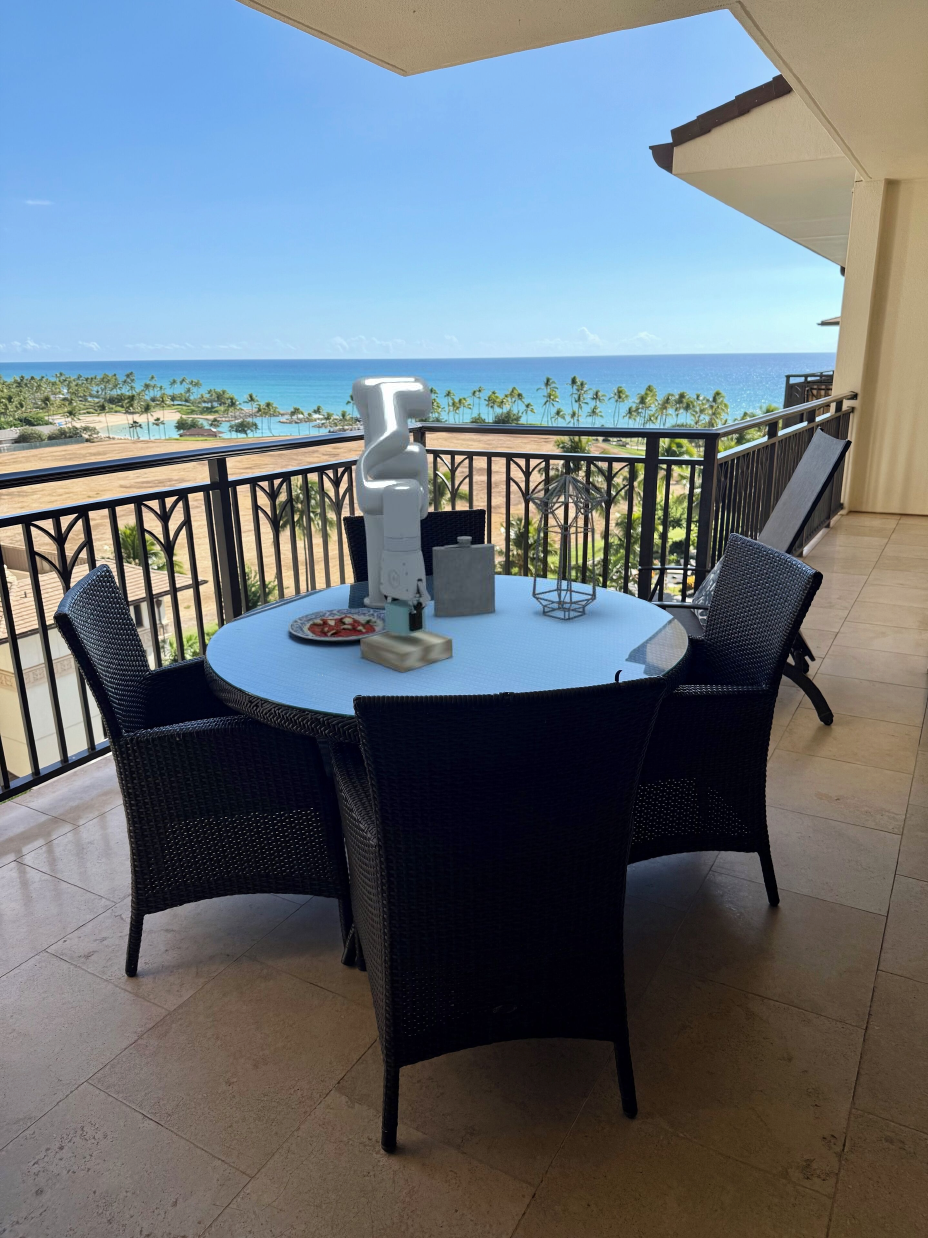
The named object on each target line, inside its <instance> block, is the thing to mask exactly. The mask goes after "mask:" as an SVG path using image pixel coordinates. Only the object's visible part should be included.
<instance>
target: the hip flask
mask: <svg viewBox="0 0 928 1238" xmlns="http://www.w3.org/2000/svg"><path fill="white" fill-rule="evenodd" d="M456 539H457V540H456V541H457V542H458V543H457V544H450V545H444V546H434V547H432V573H433V574H432V575H433V578H432V579H433V580H432V582H433V584H432V585H433V609H434V612H433V613H434V614H433V615H434V616H433V617H435V618H458V617H460V618H461V617H471V616H472V617H473V616H480V615H490V614H494V613H495V612H496V569H495V568H496V558H495V557H496V556H495V555H496V554H495V553H496V547H495V546H496V545H495V543H483V544H472V543H471V542H472V536H469V535H468V536H465V535H463V536H458V537H457V538H456Z"/></svg>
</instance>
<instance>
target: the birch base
mask: <svg viewBox="0 0 928 1238" xmlns="http://www.w3.org/2000/svg"><path fill="white" fill-rule="evenodd" d="M359 640H360V653H361V654H360V657H361V658H363V659H365V660H368V661H371V662H373V663H376V664H379V665H381V666H385V667H387V668H390V669H392V670H396V671H397V672H400V673H406V672H408V671H412V670H415V669H418V668H421V667H424V666H426V665H431V664H433V663H437V662H439V661H442V660H445V659H448V658H453V656H454V655H453V654H454V652H453V638H451V637H448V636H445V635H442V634H438V633H436V632H435V633H434V632H432V631H428V630H424V631H420V632H417V633H413V634H410V635H406V636H402V635H399V634H396V633H393V632H389V631H387V632H384V633H382V634H379V635H375V636H371V637H367V638H364V639H359Z"/></svg>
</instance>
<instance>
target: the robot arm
mask: <svg viewBox="0 0 928 1238" xmlns="http://www.w3.org/2000/svg"><path fill="white" fill-rule="evenodd" d="M351 394H352V399H353V402H354V406H355V408H356V410H357V412H358V413H357V414H358V415H359V417H360V420H361V423H362V426H363V443H364V449H363V450H362V452H361V454H360V455H359V457H358V459H357V462H356V465H355V469H354V481H355V483H354V484H355V493H356V502H357V507H358V509H359V510H360V512H361V513H363V514H362V515H363V520H364V526H365V527H364V529H365V537H366V554H367V555H366V557H367V573H368V574H367V575H368V579H367V580H368V595H369V596H367V597H365V598H364V599H363V605H365V606H366V607H368V608H372V609H381V610H385V603H389V602H393V601H397V600H404V601H408V603H409V607H410V610H411V613H409V629H410V631H412V632H413V631H417V630H420V629H422V628H423V624H422V611H424V608H425V609H426V607H427V605H428V604H429V602H430V601H431V599H432V598H431V595H430V594H429V592H428V590H427V582H426V581H427V580H426V569H425V568H426V567H425V562H424V556H423V552H422V541H421V540H422V539H421V520H423V519H425V518H426V517H427V516H428V512H429V507H430V506H429V503H430V502H429V501H430V500H429V499H430V498H429V497H430V495H429V461H428V459H429V458H428V454H427V451H426V448H425V446H424V445H423V444H421V443H419V442H416V441H411V437H410V430H409V422H408V421H409V420H422V419H424V420H425V419H427V418H428V417H430V414H431V413H432V408H433V406H432V405H433V402H432V401H433V399H432V398H433V397H432V394H431V389H430V386H429V385H428V383H427V382H426V380H424V379H423V378H422V377H420V376H416V375H400V376H399V375H398V376H397V375H393V376H392V375H385V376H384V375H378V376H377V375H374V376H363V377H360V378H357V379H355V380H354V381H353V383H352V387H351ZM369 478H370V479H369ZM414 601H417V604H416V605H415V604H414Z"/></svg>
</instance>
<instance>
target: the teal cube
mask: <svg viewBox="0 0 928 1238" xmlns="http://www.w3.org/2000/svg"><path fill="white" fill-rule="evenodd" d="M414 604H415V605H416V604H417V601H416V600H415V601H414ZM384 612H385V618H386V631H387V632H393V633H396V634H399V635H402V636H406V635H410V634H413V633H417V632H420V631H424V630H425V631H427V629H426V607H425V608H424V611H422V624H423V628H422V629H420V630H417V631H413V632H412V631H410V629H409V613H411V610H410V607H409V603H408V601H404V600H397V601H393V602H389V603H385V609H384Z"/></svg>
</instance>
